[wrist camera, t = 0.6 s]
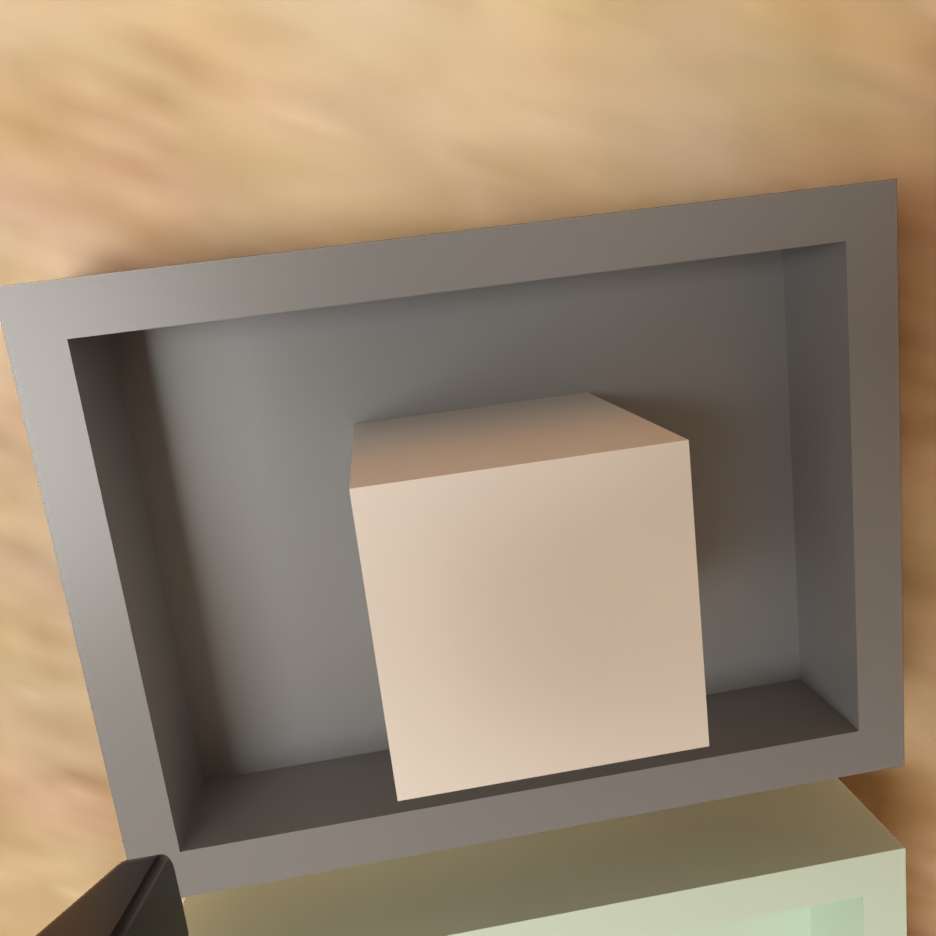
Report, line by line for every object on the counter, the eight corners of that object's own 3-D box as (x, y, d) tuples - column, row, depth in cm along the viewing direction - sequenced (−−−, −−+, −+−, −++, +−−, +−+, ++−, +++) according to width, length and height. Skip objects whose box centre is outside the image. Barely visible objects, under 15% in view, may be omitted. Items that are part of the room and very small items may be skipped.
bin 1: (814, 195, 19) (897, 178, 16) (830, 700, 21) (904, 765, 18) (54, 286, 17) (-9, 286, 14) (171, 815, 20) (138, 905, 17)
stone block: (587, 391, 19) (688, 440, 13) (607, 610, 20) (709, 746, 14) (354, 423, 18) (348, 489, 12) (387, 645, 19) (397, 801, 13)
